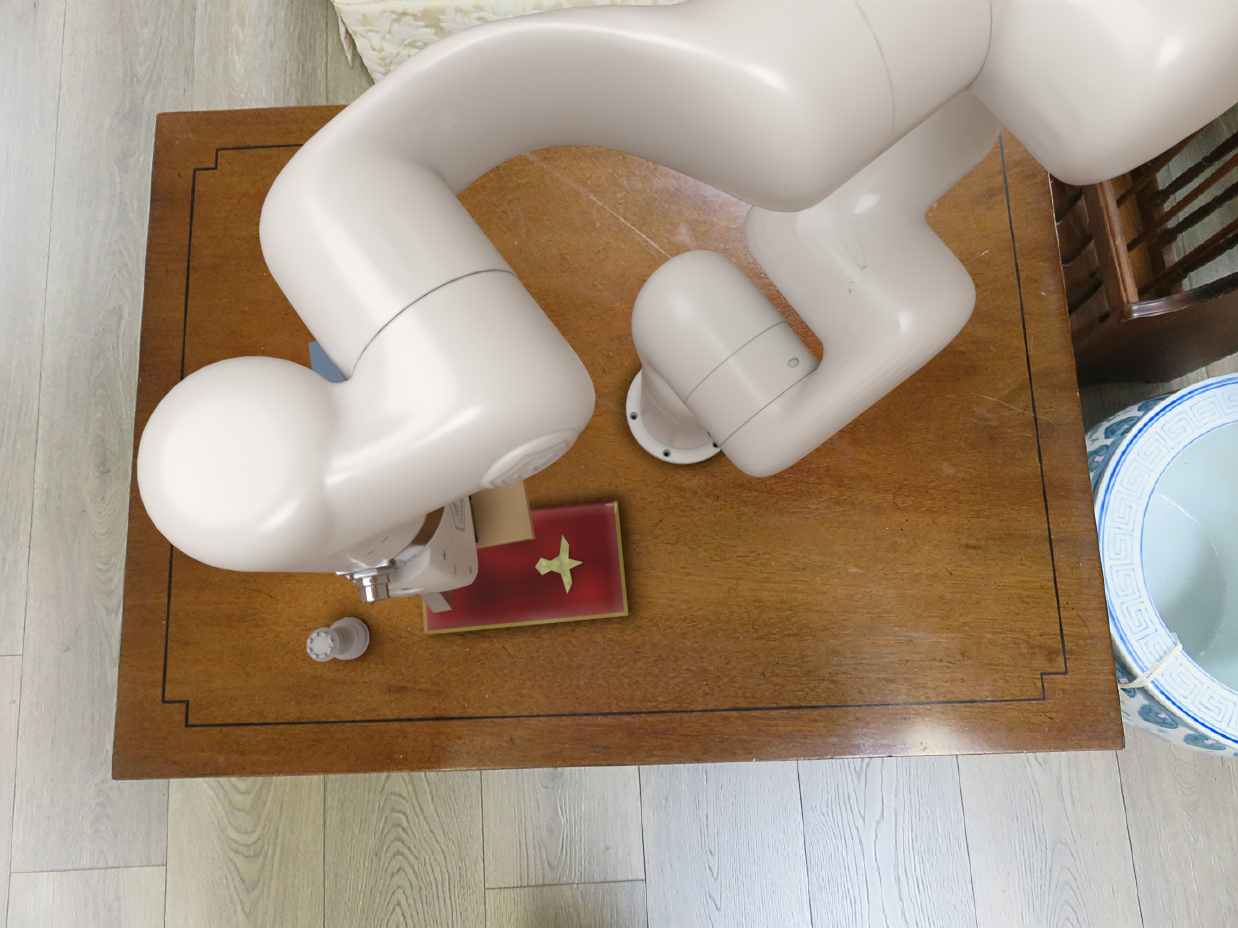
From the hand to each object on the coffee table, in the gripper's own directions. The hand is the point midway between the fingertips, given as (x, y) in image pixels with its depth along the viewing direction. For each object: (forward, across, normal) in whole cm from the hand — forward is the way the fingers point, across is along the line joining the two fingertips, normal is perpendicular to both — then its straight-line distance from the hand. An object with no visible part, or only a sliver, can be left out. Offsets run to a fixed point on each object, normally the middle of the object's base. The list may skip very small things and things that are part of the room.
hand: (453, 521), depth 54 cm
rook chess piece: (+26, -7, +19) cm, 33 cm away
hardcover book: (+26, -3, -1) cm, 27 cm away
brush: (+4, 0, 0) cm, 4 cm away
